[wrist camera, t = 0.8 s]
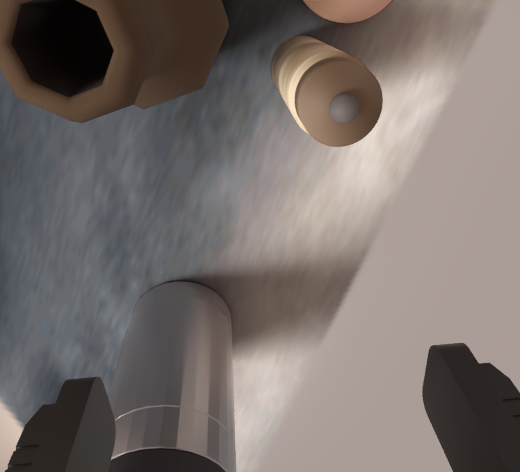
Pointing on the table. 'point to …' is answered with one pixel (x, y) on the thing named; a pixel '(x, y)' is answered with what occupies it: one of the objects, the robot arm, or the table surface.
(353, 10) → the saucer
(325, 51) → the pepper mill
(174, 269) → the table surface
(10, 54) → the beer bottle
